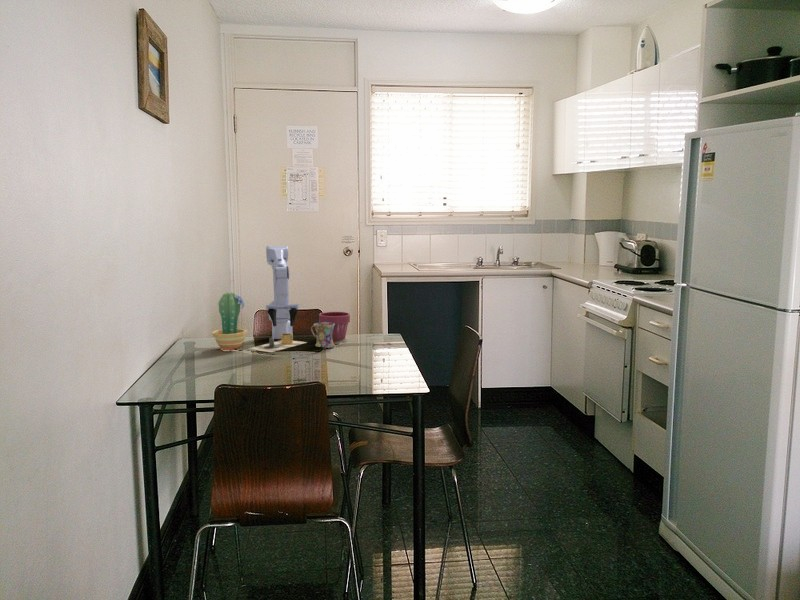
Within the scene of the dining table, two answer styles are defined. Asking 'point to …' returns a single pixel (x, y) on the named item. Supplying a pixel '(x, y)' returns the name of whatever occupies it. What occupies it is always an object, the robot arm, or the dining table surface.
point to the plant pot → (336, 323)
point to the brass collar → (286, 338)
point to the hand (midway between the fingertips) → (283, 326)
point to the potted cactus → (230, 322)
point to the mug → (324, 334)
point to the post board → (274, 346)
